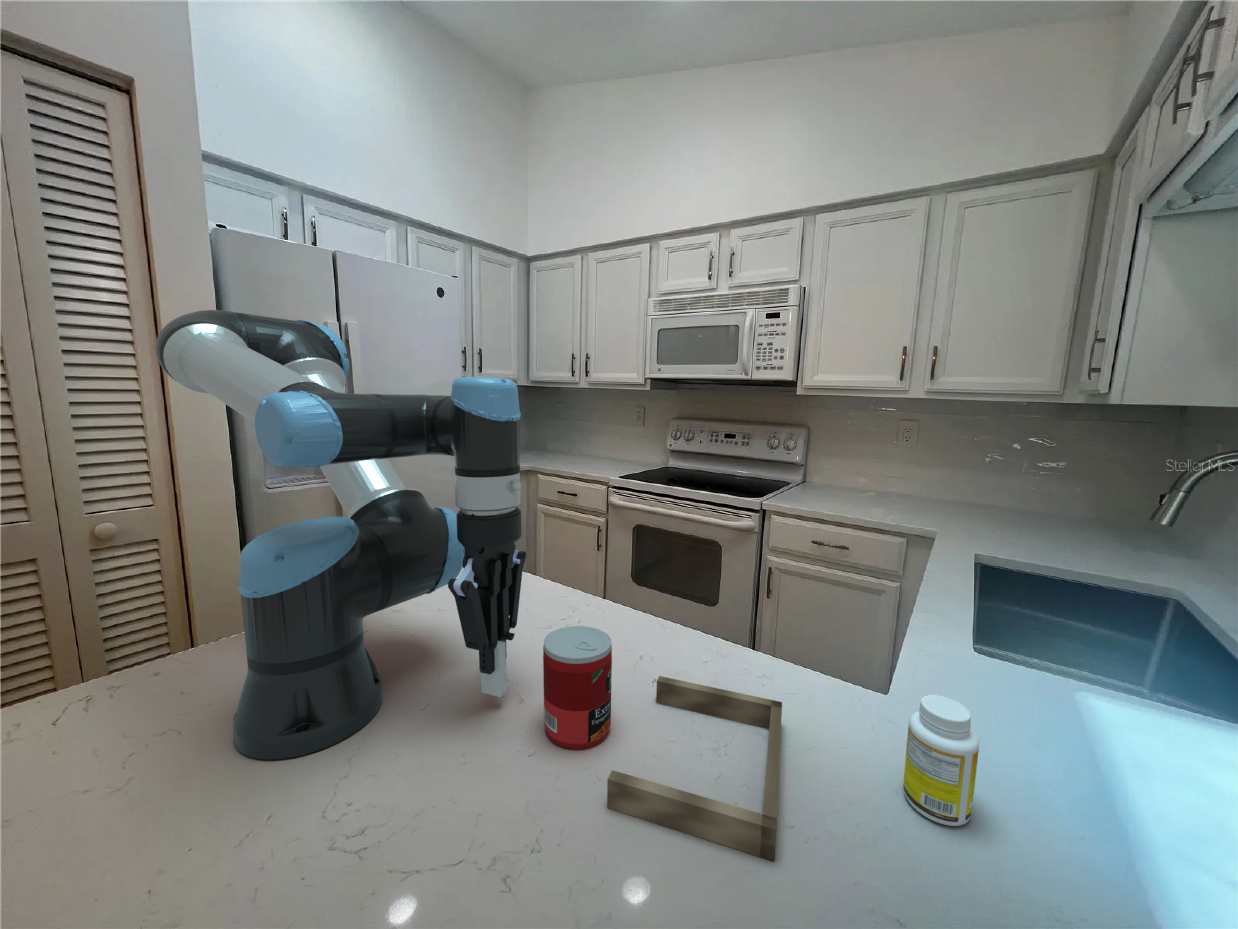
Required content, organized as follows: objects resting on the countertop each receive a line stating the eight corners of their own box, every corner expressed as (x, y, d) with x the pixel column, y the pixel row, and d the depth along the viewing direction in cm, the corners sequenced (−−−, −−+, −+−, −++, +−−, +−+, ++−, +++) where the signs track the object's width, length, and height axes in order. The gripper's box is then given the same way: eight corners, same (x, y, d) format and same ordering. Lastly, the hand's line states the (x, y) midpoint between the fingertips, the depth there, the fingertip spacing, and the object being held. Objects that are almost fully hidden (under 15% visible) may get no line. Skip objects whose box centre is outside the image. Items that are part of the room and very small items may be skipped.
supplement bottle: (940, 780, 49) (950, 688, 48) (986, 827, 44) (998, 725, 42) (889, 783, 49) (897, 690, 47) (929, 832, 43) (940, 728, 42)
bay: (607, 807, 45) (607, 779, 45) (658, 697, 63) (659, 675, 62) (774, 861, 40) (776, 829, 40) (780, 725, 57) (782, 702, 57)
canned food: (602, 756, 52) (603, 662, 51) (533, 745, 54) (532, 653, 52) (617, 712, 59) (618, 629, 58) (556, 703, 61) (555, 622, 60)
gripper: (482, 523, 50) (488, 731, 53) (543, 500, 62) (545, 670, 65) (424, 517, 52) (433, 716, 55) (494, 496, 65) (498, 660, 68)
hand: (494, 691), depth 60 cm, fingers closed
